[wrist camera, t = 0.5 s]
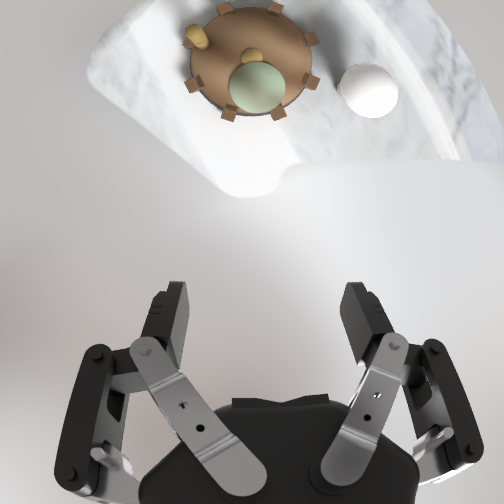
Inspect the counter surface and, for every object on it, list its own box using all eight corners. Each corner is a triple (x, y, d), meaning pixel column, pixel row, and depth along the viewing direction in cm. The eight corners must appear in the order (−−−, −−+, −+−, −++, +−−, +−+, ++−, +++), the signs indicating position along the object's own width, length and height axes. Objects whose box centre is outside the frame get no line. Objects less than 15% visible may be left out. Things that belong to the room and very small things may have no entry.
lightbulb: (338, 58, 29) (374, 47, 19) (374, 87, 31) (418, 90, 21) (312, 93, 31) (340, 93, 22) (350, 121, 33) (388, 133, 24)
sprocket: (212, -10, 23) (204, -38, 15) (336, 33, 26) (364, 19, 18) (165, 101, 30) (142, 103, 23) (289, 141, 34) (303, 155, 26)
